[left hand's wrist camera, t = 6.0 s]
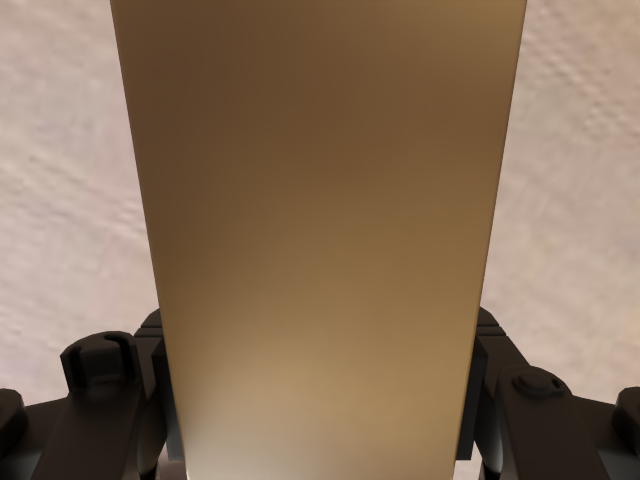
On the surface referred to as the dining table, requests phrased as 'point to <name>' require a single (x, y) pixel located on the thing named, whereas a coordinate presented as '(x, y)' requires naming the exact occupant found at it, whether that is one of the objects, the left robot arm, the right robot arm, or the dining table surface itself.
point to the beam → (319, 222)
